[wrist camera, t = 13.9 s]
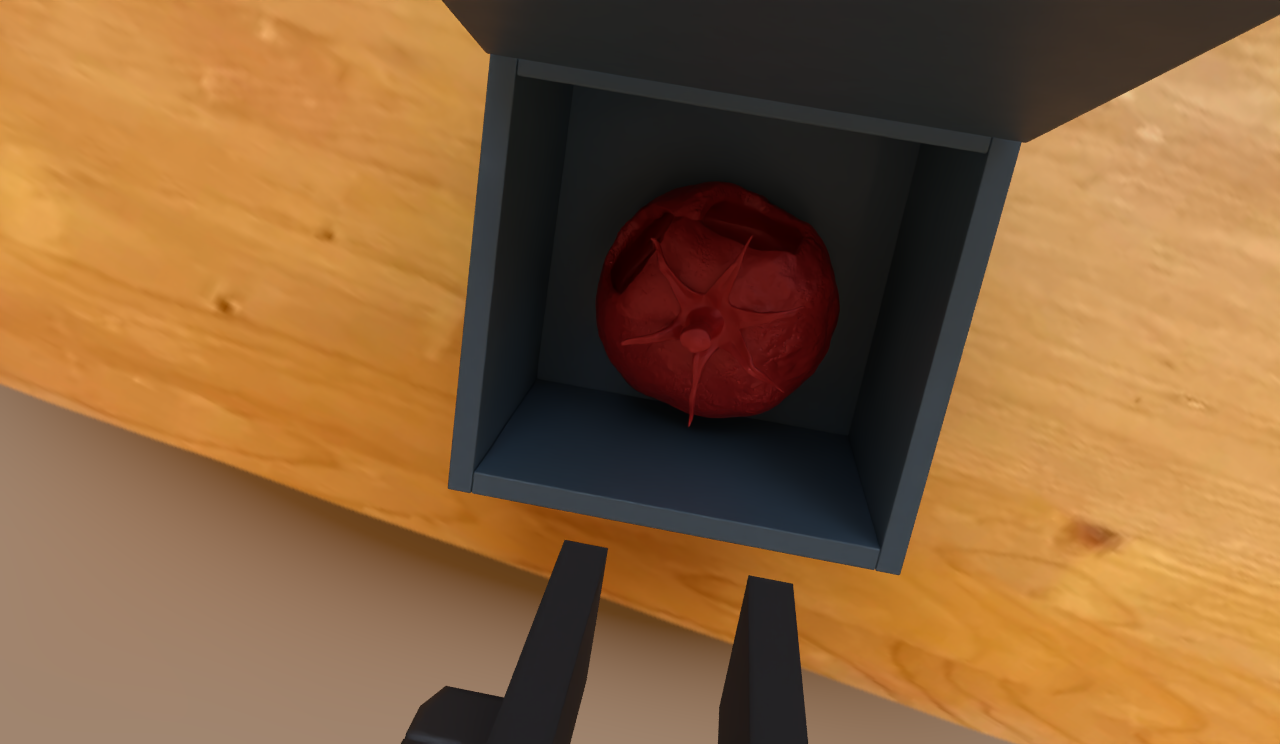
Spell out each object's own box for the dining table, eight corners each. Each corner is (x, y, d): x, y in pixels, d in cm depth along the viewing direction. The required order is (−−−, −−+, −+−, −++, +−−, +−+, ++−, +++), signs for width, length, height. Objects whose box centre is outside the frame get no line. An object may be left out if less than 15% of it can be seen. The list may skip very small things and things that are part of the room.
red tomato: (843, 369, 43) (869, 446, 34) (631, 403, 44) (604, 485, 36) (811, 152, 40) (830, 175, 31) (586, 196, 42) (544, 230, 33)
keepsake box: (860, 449, 45) (900, 576, 34) (520, 386, 46) (447, 489, 34) (945, 113, 40) (1025, 129, 28) (561, 49, 41) (491, 41, 29)
